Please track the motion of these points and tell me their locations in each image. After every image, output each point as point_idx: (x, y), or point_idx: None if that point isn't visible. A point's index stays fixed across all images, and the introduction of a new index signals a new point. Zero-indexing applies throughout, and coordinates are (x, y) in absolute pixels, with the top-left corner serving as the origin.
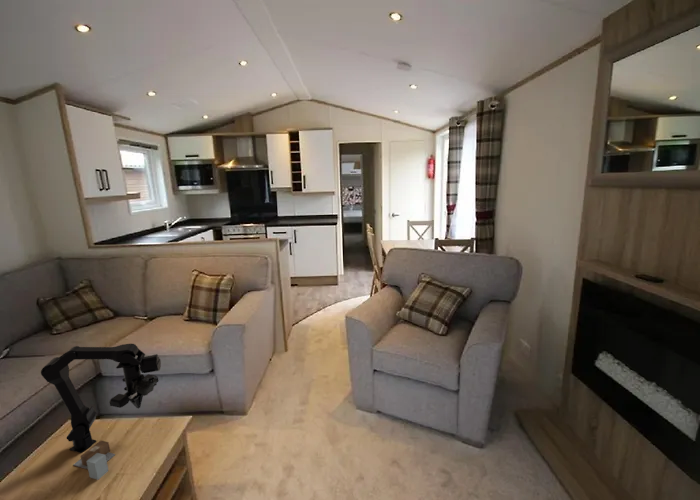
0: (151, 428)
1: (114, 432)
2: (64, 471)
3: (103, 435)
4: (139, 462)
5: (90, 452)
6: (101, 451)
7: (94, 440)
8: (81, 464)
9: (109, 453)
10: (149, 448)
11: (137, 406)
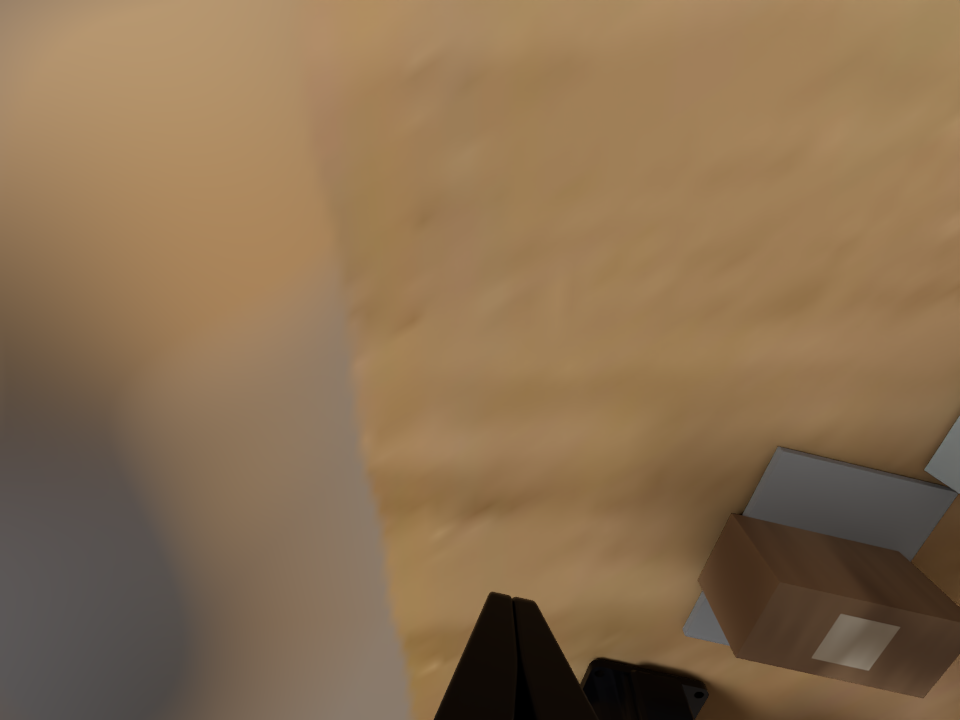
0: (433, 321)
1: None
2: None
3: None
4: (941, 144)
5: (900, 649)
6: (834, 569)
7: (593, 678)
8: None
9: (764, 499)
10: (737, 158)
11: (566, 670)
